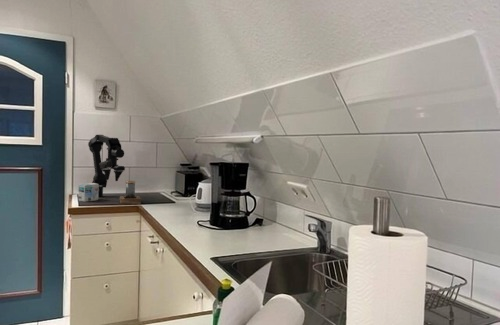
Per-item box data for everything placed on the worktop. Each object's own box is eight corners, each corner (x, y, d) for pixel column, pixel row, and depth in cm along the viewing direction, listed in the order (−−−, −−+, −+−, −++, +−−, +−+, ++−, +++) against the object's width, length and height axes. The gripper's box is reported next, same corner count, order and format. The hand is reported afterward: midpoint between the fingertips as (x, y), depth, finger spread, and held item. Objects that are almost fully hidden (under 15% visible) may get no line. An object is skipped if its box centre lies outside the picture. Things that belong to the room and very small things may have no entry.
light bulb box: (84, 201, 242) (84, 185, 242) (77, 200, 246) (78, 183, 245) (98, 199, 251) (99, 183, 251) (92, 198, 255) (92, 182, 254)
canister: (123, 200, 247) (124, 180, 246) (132, 200, 251) (132, 180, 250) (127, 202, 243) (128, 181, 242) (136, 201, 247) (136, 181, 246)
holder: (119, 201, 250) (119, 196, 250) (138, 200, 254) (139, 195, 254) (120, 204, 239) (120, 199, 239) (140, 203, 243) (140, 198, 243)
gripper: (92, 156, 248) (92, 180, 249) (110, 158, 238) (110, 182, 239) (107, 156, 258) (107, 179, 259) (125, 157, 248) (125, 181, 249)
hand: (111, 180), depth 251 cm, fingers open, 9 cm apart
